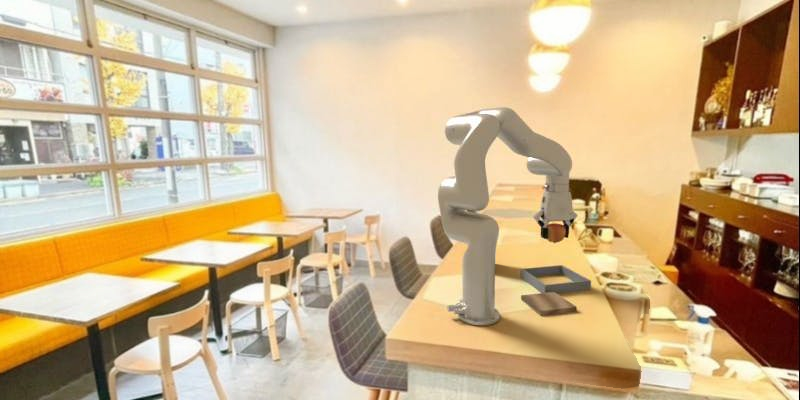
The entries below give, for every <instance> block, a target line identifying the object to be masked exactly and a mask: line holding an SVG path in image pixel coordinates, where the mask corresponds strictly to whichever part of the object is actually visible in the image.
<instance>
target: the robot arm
mask: <svg viewBox="0 0 800 400" xmlns="http://www.w3.org/2000/svg"><path fill="white" fill-rule="evenodd" d="M444 134H445V138H446V139H447V141H448V142H449V143H451V144H453V145H458V146H459V148H458V149H457V151H456V154H455V156H454V161H453V166H454V175H455V176H448V177H446V178H444V179H443V181H441V183H440V185H439V187H438V190H437V191H438V192H437V200H438V207H439V212H440V213H439V214H440V218H441V225H442V229H443V231H444V235H446V236H447V237H448V238H449V239H451V240H453V241H456V242H459V243H464V244H466V245H467V248H466V249H465V252H464V254H463V256H462V262H461V263H462V264H461V267H462V299H459V303H458V302H457V303H456V304H449V305H446V310H447V312H448V313H449V312H450V313H451V312H453V314H454V315H457V317H458V319H459V320H460V321H462V322H464V323H466V324H469V325H472V326H490V325H494V324H496V323H498V322H499V321H500V319H501V313H500V310H498V309H497V308H495V307H496V299H495V298H496V295H495V294H496V291H495V290H496V250H497V245H498V244H497V243H498V240H499V235H500V228H499V227H500V226H499V224H498V221H497V220H495V218H493V217H492V216H490V215H488V214H485V213H478V212H481V211H483V210H485V209H486V208H487V206H488V205H489V202H490V196H489V195H490V194H489V184H488V179H487V172H486V157H487V153H488V151H489V149H490V148H491V146H492V144H493V143H494V142H495V140H496V139H497V138H498V139H500V141H502V143H504V144H505V145H506V146H507V147H508V148H509V149H510V150H511V151H512V152H513V153H514V154H517V155H520V156H522V157H526V158H527V160H526V168H527V170H528V172H530V173H531V174H533V175H536V176H545V184H544V185H542V189H543V190H544V191H543V193H542V197H541V203H540V210H539V211H538V212H537V213H535V215H533V219H534V221H535V222H536V223H537V224H538V225H539V227H540V237H541V238H542V239H544V240H547V238H548V228H546V227H547V225H548V224H550V222H552V221H553V222H562V225H563V226H565V228H566V235H565V237H564V238H567V239H568V238H569V235H570V227H571V226H572V225H573V223H574V222H575V219H577V217H578V214H577V213H576V212H575V211H574V210H573V198H572V193H571V191H569V189H570V183H569V182H570V172H571V170H572V168H573V160H572V158H571V155H570V154H569V153H568V151H567V150H566V149H565V148H564V147H563V146H562V145H561V144H560V143H558V142H557V141H555V140H553V139H551V138H549V137H547V136H545V135H542V134H540V133H537V132H535V131H534V130H533V129H532V128H531V127H530V126H529V125H528V124H527V123H526V122H525V121H524V119H522V118H521V116H520V115H519V114H518V113H517V112H516V111H515V110H514V109H512V108H511V107H507V106H503V107H502V106H501V107H500V106H499V107H494V108H493V107H492V108H483V109H479V110H476V111H471V112H468V113H464V114H459V115H458V114H457V115H455V116H453V117H451V118H450V119H448V120H447V122H446V123H445V128H444Z"/></svg>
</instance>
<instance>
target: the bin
mask: <svg viewBox="0 0 800 400" xmlns="http://www.w3.org/2000/svg"><path fill="white" fill-rule="evenodd" d="M555 275H557V276H558V275H561V276H563V277H565V278H566V279H568V280H571V281H570V282H559V283H556V282H555V283H547V284H546V283H544V282H542V281H541V280H540V279H539V278H538V277H546V276H548V277H549V276H555ZM520 279H522V280H523V281H525V282H526V283H528V284H529V285H530V286H531V287H533V288H534V289H535V290H537V291H538V292H539V293H548V292H555V293H557V294H558V295H560V294H567V293H575V292H577V293H578V292H587V291H588V292H589V291H591V289H592V280H590V279H589V278H587V277H585V276H583V275H582V274H580V273H578V272H576V271H574V270H572V269H570V268H568V267H566V266H565V265H563V264H558V265H548V266H547V265H546V266H537V267H524V268H520Z"/></svg>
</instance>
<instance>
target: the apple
mask: <svg viewBox="0 0 800 400" xmlns="http://www.w3.org/2000/svg"><path fill="white" fill-rule="evenodd" d="M551 222H552V223H548V225H547V227H546V228H548V238H547V239H546V240H547V241H548V242H550V243H553V244H556V243H559V242H562V241H563V240H564V239H565V238H566V237H565V235H566V228H565V226H563V225H564V224H561V223H556V222H555V223H554V221H551Z"/></svg>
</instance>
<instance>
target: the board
mask: <svg viewBox="0 0 800 400" xmlns="http://www.w3.org/2000/svg"><path fill="white" fill-rule="evenodd" d="M520 301H522V302H523V303H525V304H526V306H528V307H529V308H530V309H532V310H533V311H534V312H535V313H537V315H539V316H540V317H542V316H550V315H558V314H559V315H560V314H566V313H568V314H569V313H573V312H575V313H576V312H577V306H576V305H575V304H573V303H571V302H570V301H569V300H567V299H565V298H564V297H563V296H561V295H560V294H557V293H555V292H548V293H541V292H539V293H531V294H522V295H520Z"/></svg>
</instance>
